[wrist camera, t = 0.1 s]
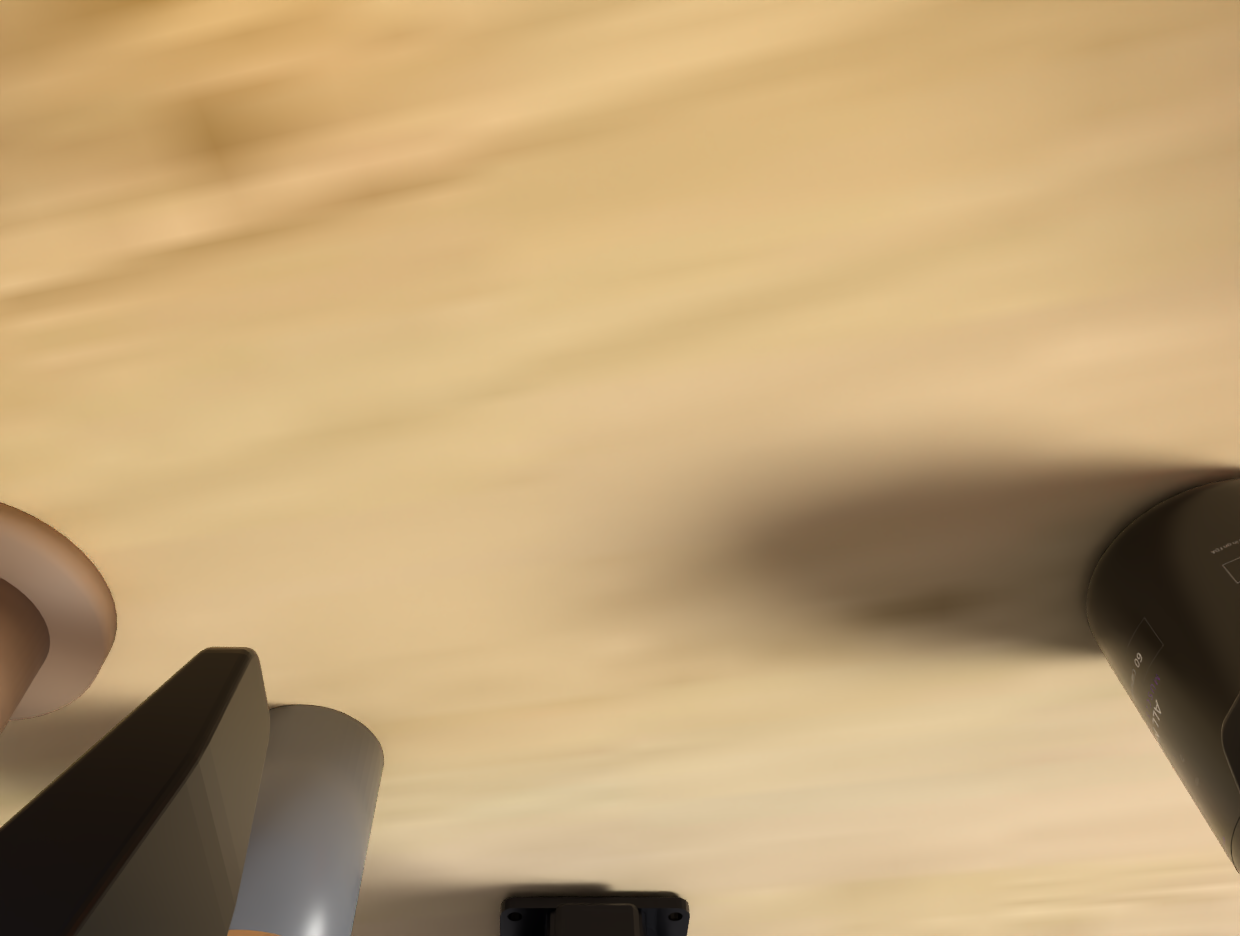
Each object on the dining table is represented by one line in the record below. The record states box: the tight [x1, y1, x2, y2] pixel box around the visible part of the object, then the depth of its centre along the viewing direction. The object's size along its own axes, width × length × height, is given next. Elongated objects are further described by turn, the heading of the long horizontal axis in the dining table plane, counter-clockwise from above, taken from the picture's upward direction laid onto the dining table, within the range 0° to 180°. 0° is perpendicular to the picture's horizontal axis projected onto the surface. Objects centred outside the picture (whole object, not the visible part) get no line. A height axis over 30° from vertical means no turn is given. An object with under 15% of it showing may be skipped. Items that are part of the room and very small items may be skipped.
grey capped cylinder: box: [227, 705, 384, 936], centre depth 27 cm, size 4×4×8 cm
